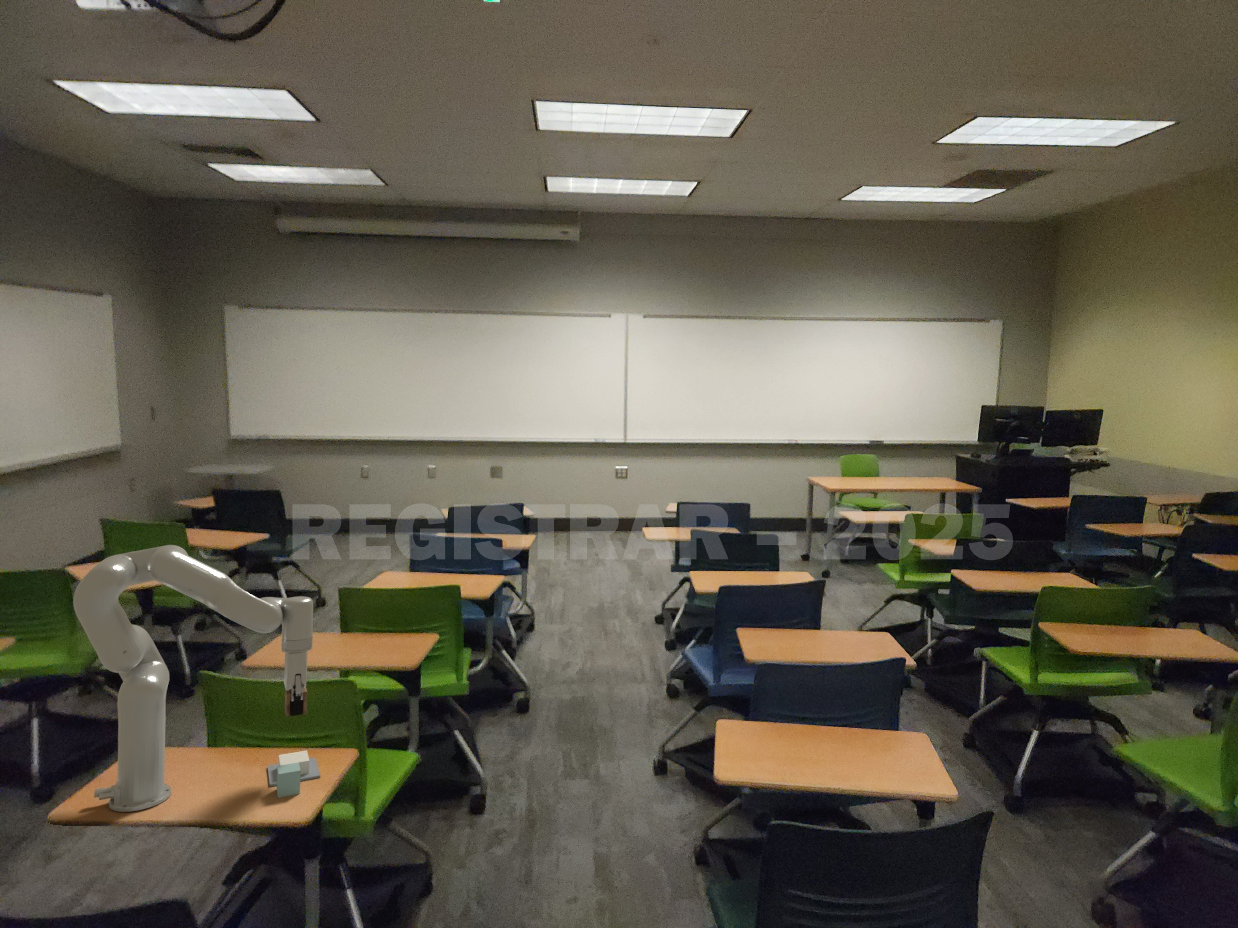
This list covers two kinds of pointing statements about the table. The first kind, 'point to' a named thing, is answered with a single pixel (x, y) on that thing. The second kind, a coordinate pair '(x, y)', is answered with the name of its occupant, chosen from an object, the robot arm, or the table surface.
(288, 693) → the walnut block
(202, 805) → the table surface
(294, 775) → the teal block
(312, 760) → the plinth
